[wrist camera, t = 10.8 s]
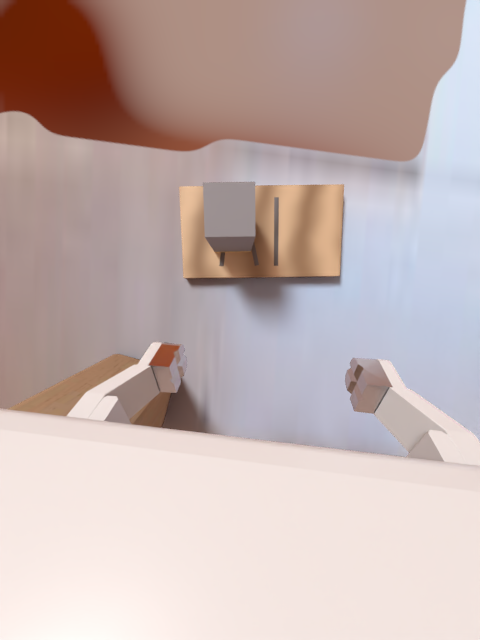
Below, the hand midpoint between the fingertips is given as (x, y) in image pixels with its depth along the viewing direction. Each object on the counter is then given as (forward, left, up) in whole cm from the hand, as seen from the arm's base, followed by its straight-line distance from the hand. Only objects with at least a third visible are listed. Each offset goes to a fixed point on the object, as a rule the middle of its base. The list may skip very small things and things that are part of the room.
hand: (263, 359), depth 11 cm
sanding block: (+2, -11, -21) cm, 24 cm away
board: (-2, -11, -23) cm, 25 cm away
